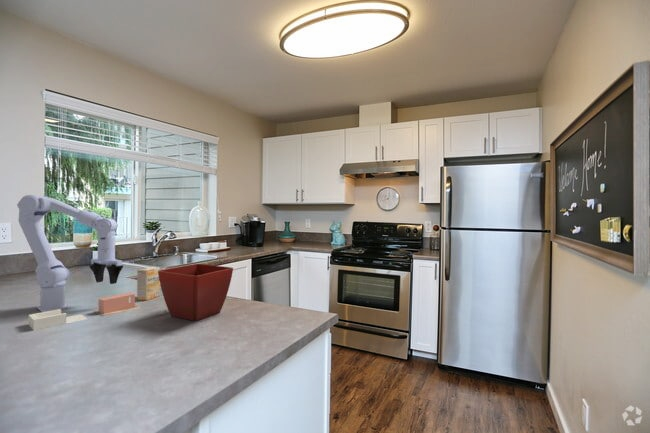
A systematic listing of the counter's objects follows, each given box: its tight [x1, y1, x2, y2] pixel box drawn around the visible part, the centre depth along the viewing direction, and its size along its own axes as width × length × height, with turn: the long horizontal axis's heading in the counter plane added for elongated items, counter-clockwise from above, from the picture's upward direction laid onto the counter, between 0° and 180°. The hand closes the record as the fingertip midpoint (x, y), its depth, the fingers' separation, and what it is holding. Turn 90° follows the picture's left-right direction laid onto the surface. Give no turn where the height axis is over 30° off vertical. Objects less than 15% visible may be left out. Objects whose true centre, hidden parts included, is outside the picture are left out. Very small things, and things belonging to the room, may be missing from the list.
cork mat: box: [94, 305, 141, 317], centre depth 122 cm, size 9×13×1 cm
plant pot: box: [158, 263, 234, 322], centre depth 118 cm, size 19×19×17 cm
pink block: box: [98, 292, 136, 314], centre depth 122 cm, size 4×11×5 cm, turn 148°
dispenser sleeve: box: [28, 309, 104, 331], centre depth 110 cm, size 8×19×4 cm, turn 142°
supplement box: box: [136, 266, 161, 302], centre depth 139 cm, size 8×5×13 cm, turn 168°
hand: (106, 282), depth 127 cm, fingers open, 7 cm apart
